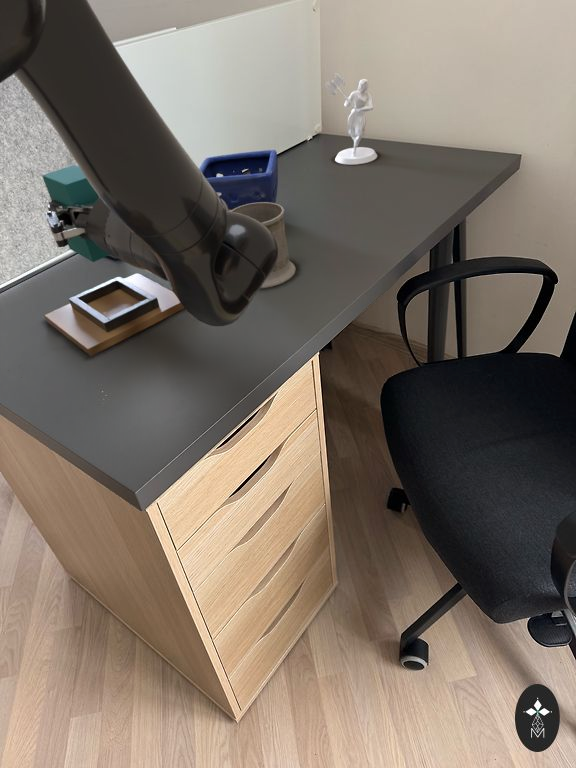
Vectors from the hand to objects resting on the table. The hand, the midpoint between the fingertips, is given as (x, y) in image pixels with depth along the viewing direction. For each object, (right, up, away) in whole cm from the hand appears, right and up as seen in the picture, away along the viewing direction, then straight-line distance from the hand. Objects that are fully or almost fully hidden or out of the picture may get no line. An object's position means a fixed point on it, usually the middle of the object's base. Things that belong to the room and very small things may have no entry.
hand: (71, 201), depth 74 cm
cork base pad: (+3, -14, +9) cm, 17 cm away
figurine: (+44, +27, +54) cm, 75 cm away
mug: (+23, -6, +16) cm, 28 cm away
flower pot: (+21, +4, +28) cm, 35 cm away
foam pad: (+3, -6, +2) cm, 7 cm away
